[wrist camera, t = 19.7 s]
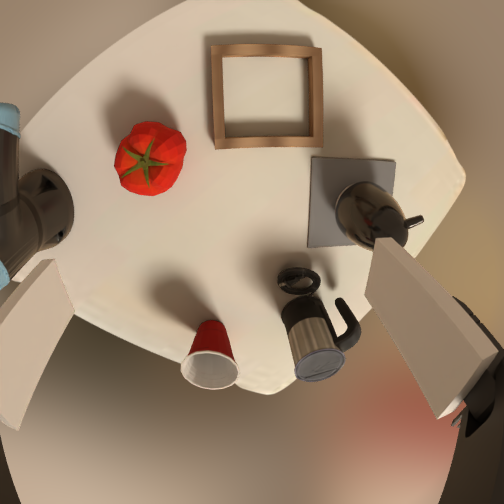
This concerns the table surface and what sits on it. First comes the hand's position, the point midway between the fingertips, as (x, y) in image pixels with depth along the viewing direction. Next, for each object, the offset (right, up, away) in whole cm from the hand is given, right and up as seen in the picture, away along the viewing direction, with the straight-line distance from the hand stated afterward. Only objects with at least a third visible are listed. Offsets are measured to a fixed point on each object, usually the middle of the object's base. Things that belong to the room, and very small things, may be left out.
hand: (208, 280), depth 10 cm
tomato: (-13, +16, +30) cm, 36 cm away
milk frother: (+11, -8, +45) cm, 47 cm away
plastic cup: (-7, -15, +47) cm, 50 cm away
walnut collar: (+4, +24, +27) cm, 37 cm away
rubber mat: (+19, +10, +36) cm, 42 cm away
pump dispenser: (+19, +10, +36) cm, 42 cm away
